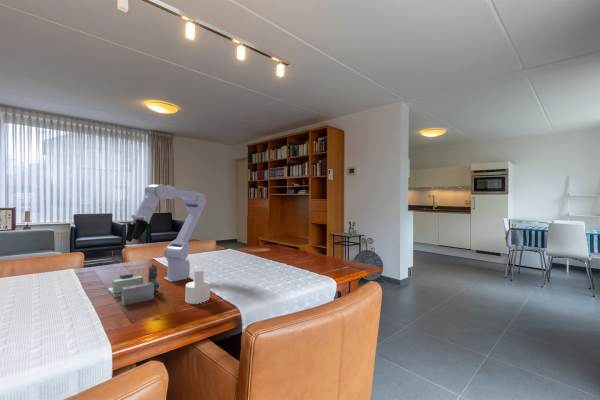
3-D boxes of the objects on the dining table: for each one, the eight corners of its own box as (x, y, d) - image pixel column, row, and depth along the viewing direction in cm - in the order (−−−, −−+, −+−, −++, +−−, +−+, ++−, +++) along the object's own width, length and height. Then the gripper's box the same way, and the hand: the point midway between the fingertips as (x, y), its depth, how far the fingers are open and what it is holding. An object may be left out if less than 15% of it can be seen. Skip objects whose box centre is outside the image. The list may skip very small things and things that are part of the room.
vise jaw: (138, 284, 117) (138, 271, 117) (142, 287, 113) (143, 274, 113) (110, 290, 110) (111, 275, 110) (114, 293, 106) (115, 278, 106)
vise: (135, 285, 120) (135, 272, 120) (153, 298, 105) (154, 283, 105) (108, 290, 113) (108, 276, 113) (123, 305, 98) (124, 289, 98)
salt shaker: (153, 296, 108) (154, 265, 108) (140, 294, 110) (141, 264, 110) (163, 291, 114) (164, 262, 114) (151, 289, 115) (151, 261, 115)
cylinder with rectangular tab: (185, 296, 109) (186, 266, 109) (208, 294, 112) (209, 265, 112) (185, 305, 100) (186, 272, 100) (210, 302, 104) (211, 270, 104)
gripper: (130, 208, 117) (114, 237, 111) (143, 202, 108) (127, 234, 101) (146, 215, 121) (132, 244, 115) (160, 210, 112) (145, 241, 106)
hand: (131, 240), depth 108 cm, fingers open, 7 cm apart
